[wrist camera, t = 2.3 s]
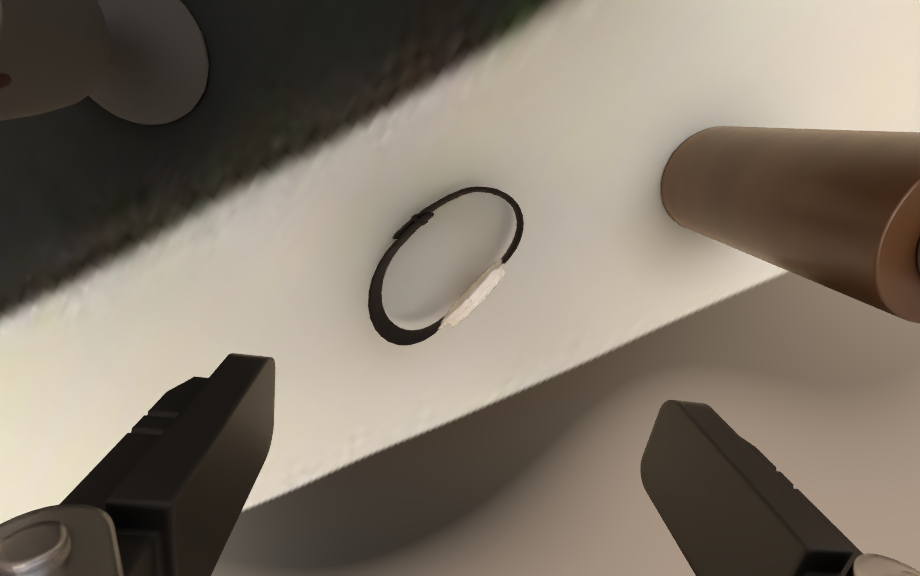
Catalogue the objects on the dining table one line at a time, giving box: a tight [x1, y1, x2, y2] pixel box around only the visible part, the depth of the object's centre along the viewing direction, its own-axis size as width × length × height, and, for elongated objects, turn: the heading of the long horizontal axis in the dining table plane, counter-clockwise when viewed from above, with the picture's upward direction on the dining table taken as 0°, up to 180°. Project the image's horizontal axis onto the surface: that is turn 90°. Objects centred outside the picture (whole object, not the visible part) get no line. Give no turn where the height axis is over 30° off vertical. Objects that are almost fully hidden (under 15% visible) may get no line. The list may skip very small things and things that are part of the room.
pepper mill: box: [662, 126, 920, 323], centre depth 14 cm, size 4×4×12 cm
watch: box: [368, 187, 524, 345], centre depth 18 cm, size 8×5×4 cm, turn 137°
